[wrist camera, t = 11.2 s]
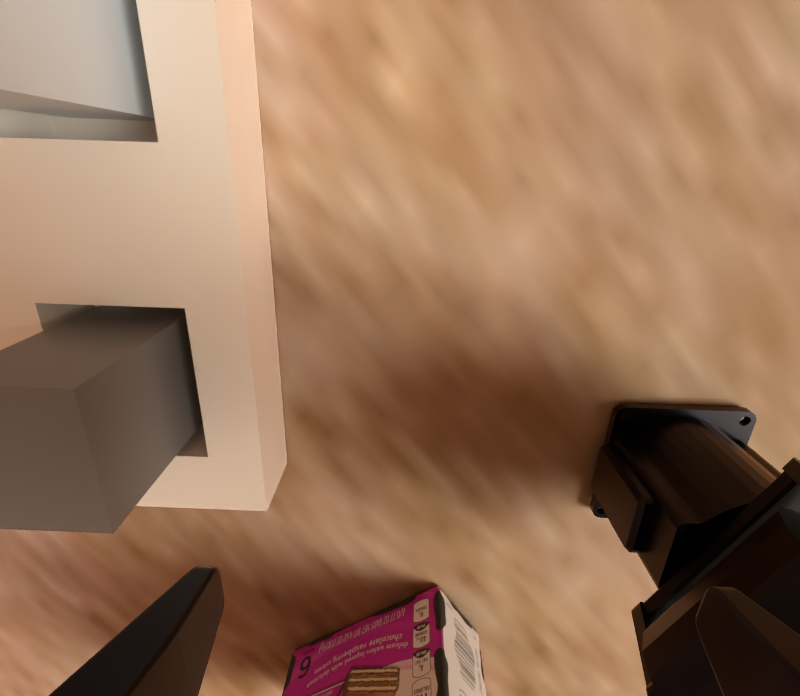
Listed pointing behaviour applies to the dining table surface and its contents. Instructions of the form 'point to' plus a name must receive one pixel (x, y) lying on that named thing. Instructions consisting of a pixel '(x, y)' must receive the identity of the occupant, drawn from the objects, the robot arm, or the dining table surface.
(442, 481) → the dining table surface
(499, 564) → the dining table surface
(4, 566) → the dining table surface
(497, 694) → the dining table surface
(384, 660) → the candy bar box
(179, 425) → the twin plug
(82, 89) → the plug
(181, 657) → the robot arm
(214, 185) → the power strip
